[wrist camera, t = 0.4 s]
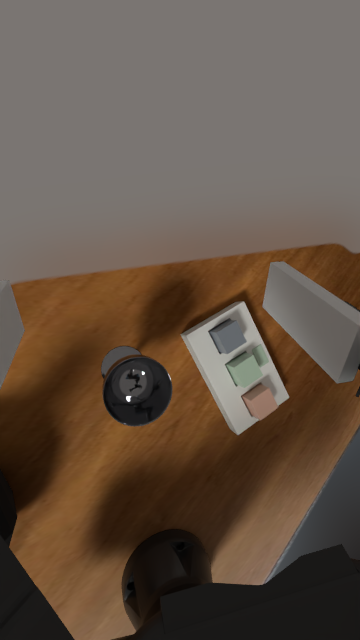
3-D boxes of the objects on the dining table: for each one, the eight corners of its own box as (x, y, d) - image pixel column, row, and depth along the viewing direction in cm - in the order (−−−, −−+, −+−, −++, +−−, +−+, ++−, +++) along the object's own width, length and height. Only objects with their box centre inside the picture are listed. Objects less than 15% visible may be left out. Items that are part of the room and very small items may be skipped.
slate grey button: (237, 340, 51) (246, 341, 48) (218, 351, 50) (227, 354, 47) (227, 319, 50) (236, 320, 47) (208, 331, 49) (216, 332, 46)
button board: (279, 393, 57) (290, 397, 54) (229, 428, 54) (238, 435, 51) (235, 301, 53) (244, 301, 50) (180, 334, 50) (186, 335, 47)
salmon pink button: (267, 401, 53) (278, 407, 50) (250, 414, 52) (260, 420, 49) (258, 383, 52) (269, 387, 49) (241, 395, 51) (250, 400, 48)
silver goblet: (92, 351, 46) (94, 368, 32) (141, 337, 48) (163, 348, 34) (105, 398, 47) (113, 436, 32) (152, 383, 49) (179, 412, 35)
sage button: (252, 371, 52) (263, 375, 49) (235, 383, 51) (244, 388, 48) (243, 352, 51) (253, 354, 48) (225, 364, 50) (234, 367, 47)
